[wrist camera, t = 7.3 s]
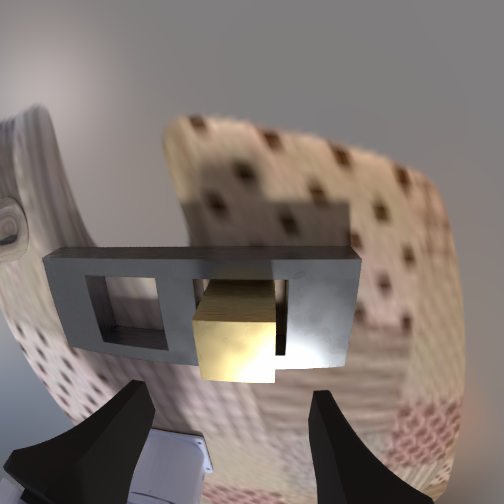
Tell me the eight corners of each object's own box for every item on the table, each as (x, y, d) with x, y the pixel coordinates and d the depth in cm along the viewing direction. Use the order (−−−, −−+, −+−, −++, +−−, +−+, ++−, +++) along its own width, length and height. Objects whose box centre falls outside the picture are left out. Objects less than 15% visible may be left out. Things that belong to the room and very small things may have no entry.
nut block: (273, 323, 20) (273, 382, 14) (217, 322, 20) (201, 379, 14) (274, 272, 18) (275, 322, 13) (213, 272, 19) (191, 320, 13)
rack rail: (337, 346, 20) (343, 366, 18) (82, 331, 21) (69, 346, 19) (350, 246, 18) (361, 259, 15) (60, 247, 19) (42, 257, 17)
